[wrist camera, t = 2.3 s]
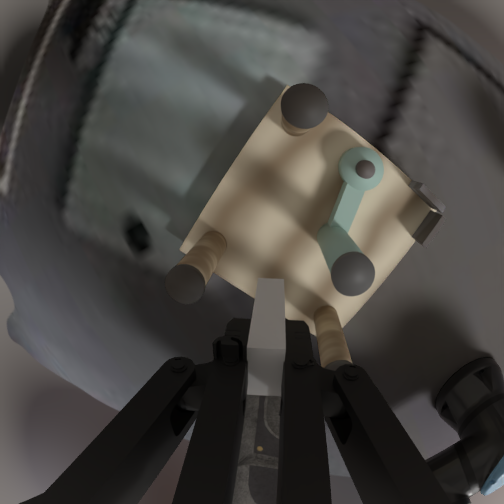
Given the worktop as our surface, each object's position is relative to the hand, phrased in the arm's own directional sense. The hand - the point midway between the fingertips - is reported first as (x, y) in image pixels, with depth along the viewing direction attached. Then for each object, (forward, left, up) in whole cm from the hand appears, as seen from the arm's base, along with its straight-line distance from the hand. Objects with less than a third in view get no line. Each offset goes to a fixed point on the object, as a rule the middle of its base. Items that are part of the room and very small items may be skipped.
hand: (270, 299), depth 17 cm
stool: (-3, -3, -18) cm, 19 cm away
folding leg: (-4, -7, -15) cm, 17 cm away
